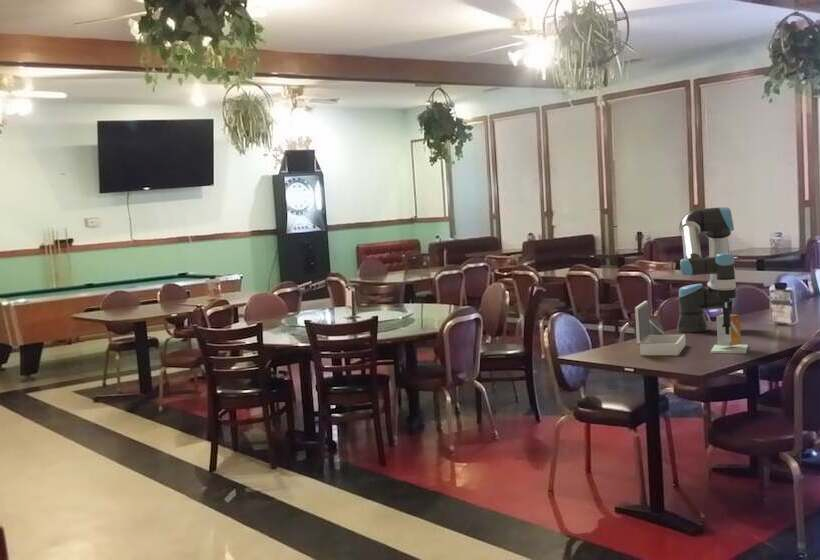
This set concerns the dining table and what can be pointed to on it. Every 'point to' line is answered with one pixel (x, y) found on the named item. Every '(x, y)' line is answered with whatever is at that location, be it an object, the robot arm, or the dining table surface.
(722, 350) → the sage mat
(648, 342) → the equipment case
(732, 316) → the small box
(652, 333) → the coffee pot
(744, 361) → the dining table surface
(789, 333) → the dining table surface
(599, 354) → the dining table surface
